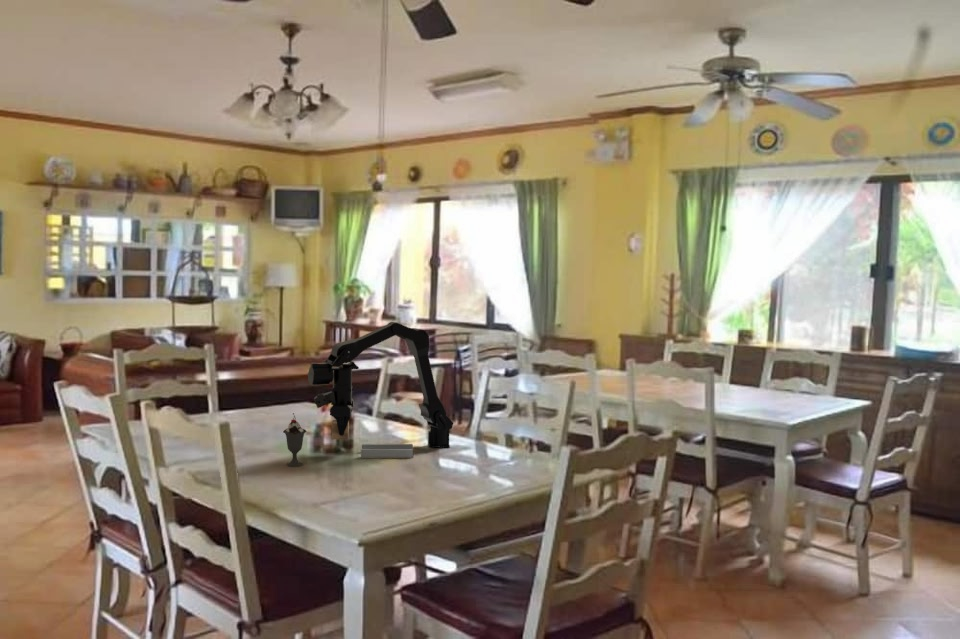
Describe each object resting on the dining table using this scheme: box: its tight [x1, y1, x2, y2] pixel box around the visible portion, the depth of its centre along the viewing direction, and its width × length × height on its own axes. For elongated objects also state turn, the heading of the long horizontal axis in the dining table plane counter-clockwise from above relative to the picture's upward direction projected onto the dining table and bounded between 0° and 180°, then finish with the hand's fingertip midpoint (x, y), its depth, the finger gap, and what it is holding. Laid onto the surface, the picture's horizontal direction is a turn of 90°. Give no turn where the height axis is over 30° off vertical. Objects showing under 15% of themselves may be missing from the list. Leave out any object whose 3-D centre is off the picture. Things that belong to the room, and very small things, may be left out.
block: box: [331, 419, 350, 440], centre depth 263 cm, size 5×5×5 cm
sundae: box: [283, 413, 307, 468], centre depth 249 cm, size 7×7×15 cm
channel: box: [360, 443, 414, 459], centre depth 265 cm, size 16×8×2 cm, turn 96°
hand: (341, 433), depth 263 cm, fingers closed on block, 5 cm apart
